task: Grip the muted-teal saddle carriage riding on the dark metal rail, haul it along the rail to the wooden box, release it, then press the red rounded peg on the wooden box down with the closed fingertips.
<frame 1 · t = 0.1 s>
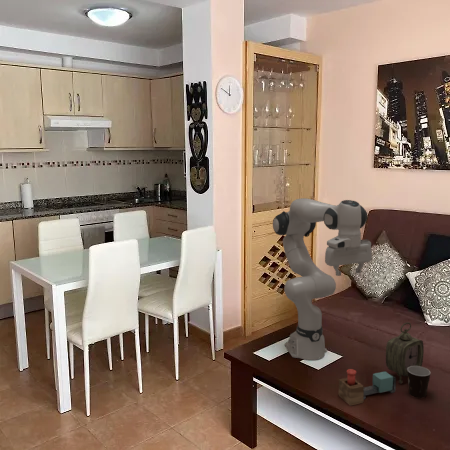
hand: (348, 274, 189), 48 cm above the table, fingers open, 8 cm apart
wooden box: (350, 399, 184), on the table
rail: (375, 393, 188), on the table
tabletop clock: (402, 377, 201), on the table
carriage: (382, 382, 189), point 4 cm above the table, slide at 0.0 cm
red rounded peg: (351, 378, 183), point 9 cm above the table, slide at 0.0 cm
coffee mug: (416, 395, 186), on the table
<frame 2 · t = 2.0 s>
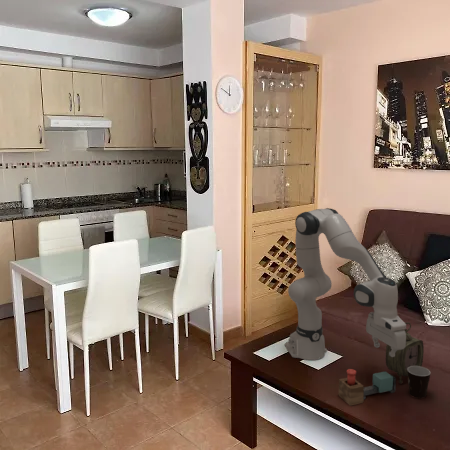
hand: (384, 351, 186), 18 cm above the table, fingers open, 8 cm apart
nothing on the table moved.
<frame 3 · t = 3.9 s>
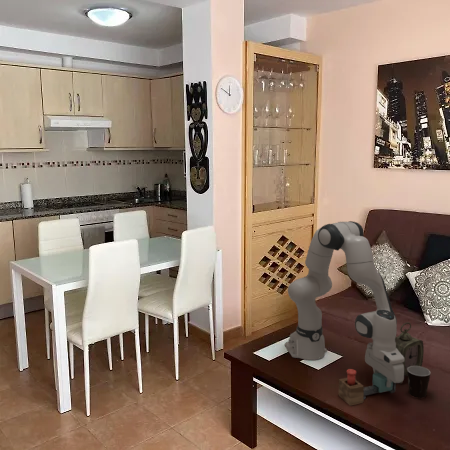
hand: (382, 382, 189), 4 cm above the table, fingers closed on carriage, 5 cm apart
carriage: (382, 382, 189), point 4 cm above the table, slide at 0.0 cm, touching gripper
everything else where it was.
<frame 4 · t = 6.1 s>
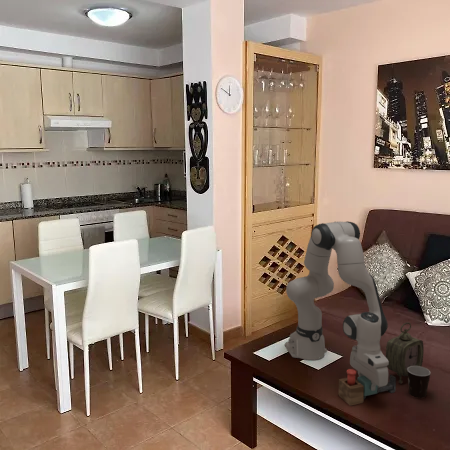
hand: (367, 386, 186), 4 cm above the table, fingers closed on carriage, 5 cm apart
carriage: (367, 385, 186), point 4 cm above the table, slide at 7.3 cm, touching gripper
everything else where it was.
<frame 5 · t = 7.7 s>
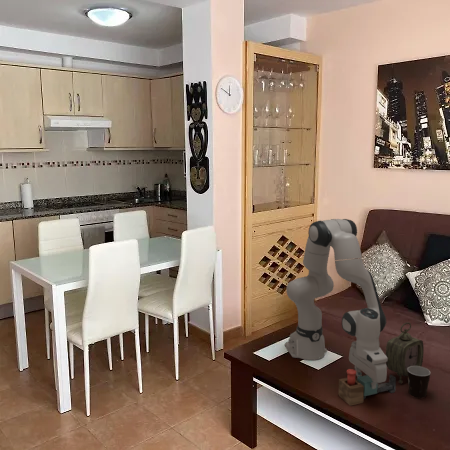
hand: (365, 382, 186), 6 cm above the table, fingers open, 8 cm apart
carriage: (367, 385, 186), point 4 cm above the table, slide at 7.4 cm
everything else where it was.
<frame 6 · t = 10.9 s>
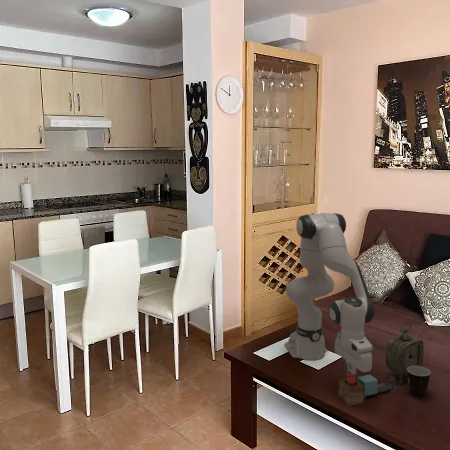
hand: (351, 372, 182), 11 cm above the table, fingers closed, pressing on red rounded peg
red rounded peg: (351, 379, 183), point 8 cm above the table, slide at 0.6 cm, touching gripper
everything else where it was.
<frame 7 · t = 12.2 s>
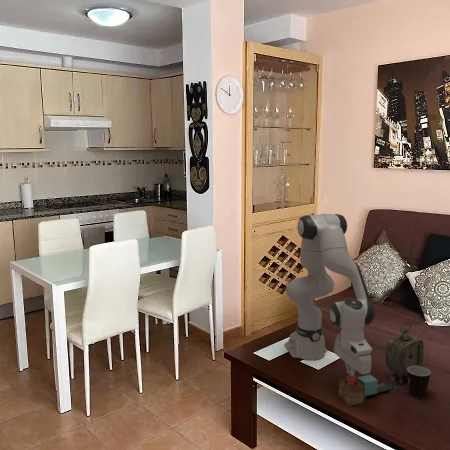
hand: (350, 374, 183), 10 cm above the table, fingers closed
red rounded peg: (351, 384, 183), point 6 cm above the table, slide at 2.6 cm
everything else where it was.
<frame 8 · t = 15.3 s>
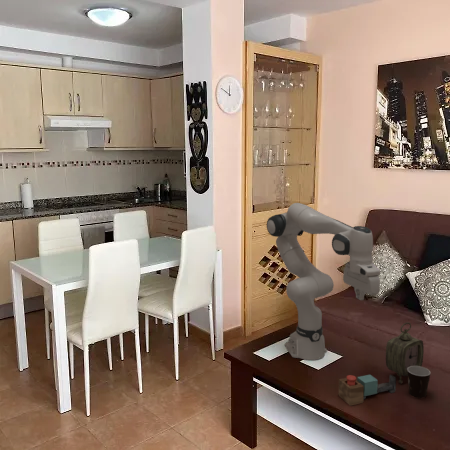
hand: (359, 299, 191), 37 cm above the table, fingers closed
nothing on the table moved.
at the end: carriage slide at 7.4 cm; red rounded peg slide at 2.6 cm; the gripper is holding nothing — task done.
